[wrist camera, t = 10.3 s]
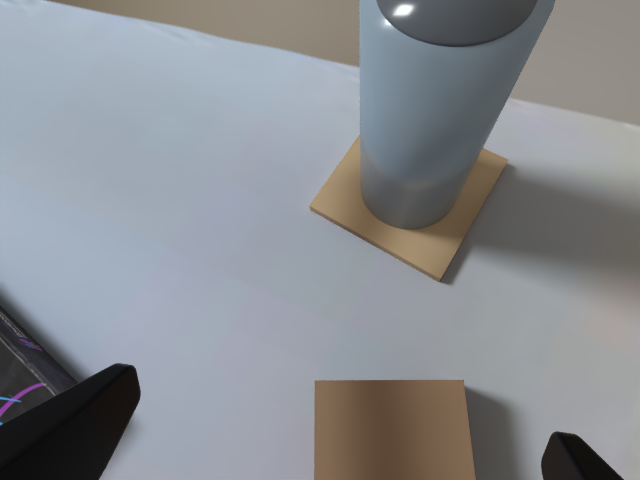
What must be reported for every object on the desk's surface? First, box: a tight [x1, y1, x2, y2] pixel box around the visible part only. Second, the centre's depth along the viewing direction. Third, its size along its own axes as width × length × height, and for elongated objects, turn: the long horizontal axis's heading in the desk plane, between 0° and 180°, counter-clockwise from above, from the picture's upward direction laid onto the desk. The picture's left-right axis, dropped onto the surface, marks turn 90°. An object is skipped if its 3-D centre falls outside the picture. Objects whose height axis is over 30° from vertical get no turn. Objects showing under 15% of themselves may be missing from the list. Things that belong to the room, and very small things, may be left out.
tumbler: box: [360, 0, 555, 229], centre depth 18 cm, size 6×6×13 cm
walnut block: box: [314, 380, 476, 480], centre depth 19 cm, size 7×5×3 cm
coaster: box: [309, 135, 508, 282], centre depth 25 cm, size 9×9×1 cm
